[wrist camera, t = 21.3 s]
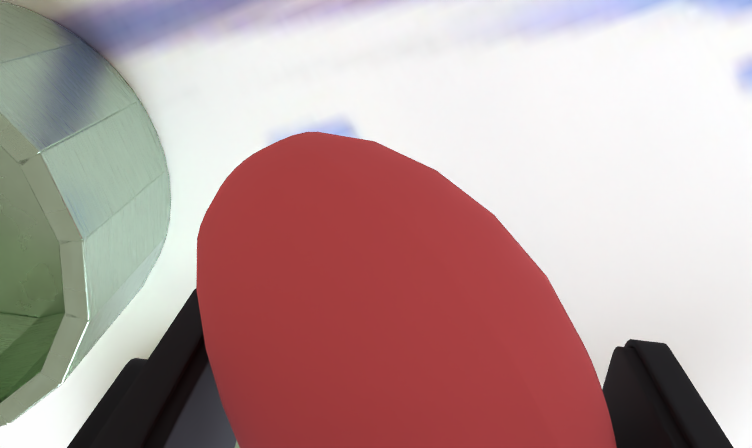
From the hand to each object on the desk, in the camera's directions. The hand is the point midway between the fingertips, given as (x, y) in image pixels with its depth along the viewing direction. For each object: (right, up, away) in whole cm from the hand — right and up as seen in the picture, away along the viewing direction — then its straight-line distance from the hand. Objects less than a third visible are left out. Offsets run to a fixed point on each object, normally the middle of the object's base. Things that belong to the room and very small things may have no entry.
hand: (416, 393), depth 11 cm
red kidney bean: (0, 0, +1) cm, 1 cm away
